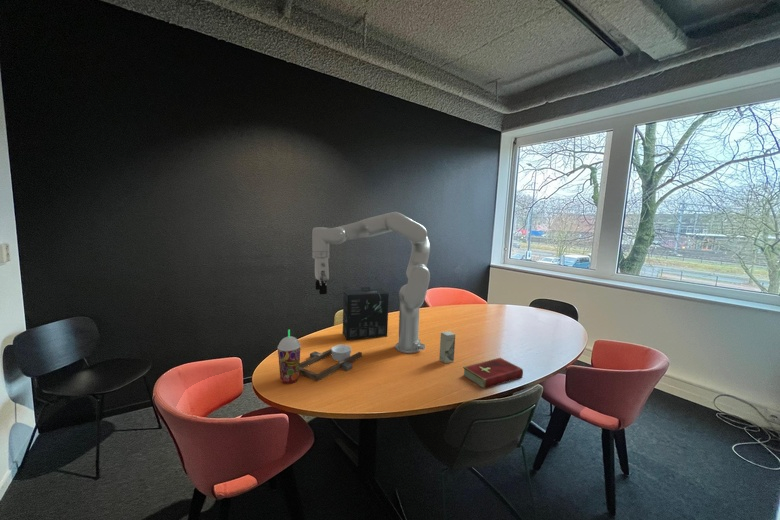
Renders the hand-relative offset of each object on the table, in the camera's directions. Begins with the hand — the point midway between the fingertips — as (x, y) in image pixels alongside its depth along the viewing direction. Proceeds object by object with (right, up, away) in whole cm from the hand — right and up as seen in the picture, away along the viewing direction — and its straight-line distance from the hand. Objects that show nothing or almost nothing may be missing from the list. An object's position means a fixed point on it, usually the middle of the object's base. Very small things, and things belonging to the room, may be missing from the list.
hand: (321, 291), depth 147 cm
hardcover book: (+73, -33, -17) cm, 82 cm away
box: (+57, -31, -4) cm, 65 cm away
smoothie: (-7, -32, -25) cm, 41 cm away
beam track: (+6, -30, -9) cm, 32 cm away
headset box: (+18, -26, +26) cm, 41 cm away
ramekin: (+10, -30, -3) cm, 31 cm away
